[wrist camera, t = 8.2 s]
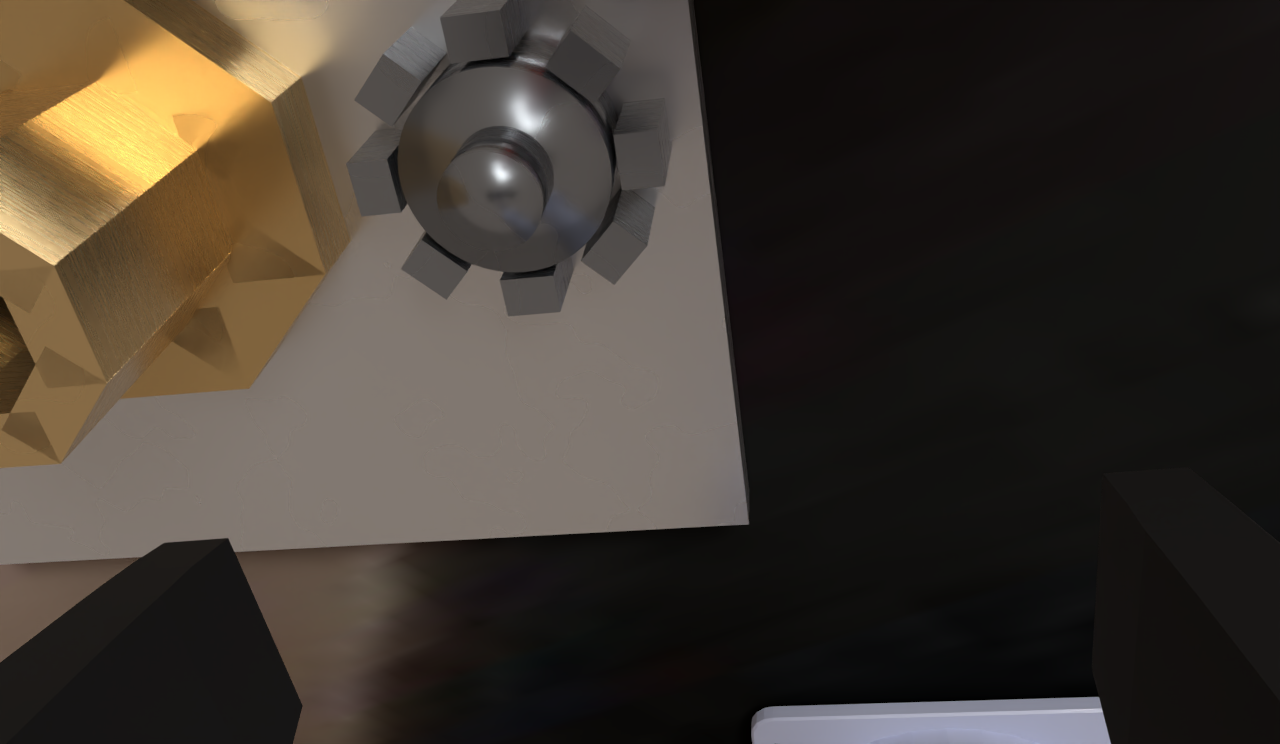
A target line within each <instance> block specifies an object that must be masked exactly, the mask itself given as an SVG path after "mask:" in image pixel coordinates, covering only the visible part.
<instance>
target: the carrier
mask: <svg viewBox="0 0 1280 744" xmlns="http://www.w3.org/2000/svg"><path fill="white" fill-rule="evenodd" d="M192 1H194V2H195V3H197V4H198V5H199V6H201V7H202V8H204V9H205V10H207V11H208V12H209V13H211V14H212V15H214V16H215V17H217V18H218V19H219V20H221V21H222V22H224V23H225V24H226V25H228V26H229V27H231V28H232V29H234V30H235V31H236V32H238V33H239V34H241V35H242V36H243V37H245V38H246V39H248V40H249V41H251V42H252V43H253V44H255V45H256V46H258V47H259V48H260V49H262V50H263V51H265V52H266V53H268V54H269V55H270V56H272V57H273V58H275V59H276V60H278V61H279V62H280V63H282V64H283V65H285V66H286V67H287V68H289V69H290V70H292V71H293V72H295V73H296V74H297V75H299V76H300V77H302V81H303V84H304V87H305V91H306V94H307V97H308V101H309V104H310V107H311V111H312V114H313V117H314V121H315V124H316V127H317V131H318V134H319V137H320V141H321V144H322V147H323V151H324V154H325V157H326V161H327V164H328V167H329V171H330V174H331V177H332V181H333V184H334V187H335V191H336V194H337V197H338V201H339V204H340V207H341V211H342V214H343V218H344V221H345V224H346V228H347V231H348V234H349V238H350V243H349V244H348V245H347V247H346V248H345V250H344V251H343V253H342V254H341V256H340V257H339V259H338V260H337V261H336V263H335V264H334V266H333V267H332V269H331V270H330V272H329V273H328V275H327V276H326V278H325V279H324V281H323V282H322V284H321V285H320V287H319V288H318V290H317V291H316V293H315V294H314V296H313V297H312V299H311V300H310V302H309V303H308V305H307V306H306V308H305V309H304V311H303V312H302V314H301V315H300V317H299V318H298V320H297V321H296V323H295V324H294V326H293V327H292V329H291V330H290V332H289V333H288V335H287V336H286V338H285V339H284V341H283V342H282V344H281V345H280V347H279V348H278V350H277V352H276V353H275V354H274V356H273V357H272V359H271V360H270V361H269V363H268V364H267V365H266V367H265V368H264V369H263V371H262V372H261V374H260V375H259V376H258V378H257V379H256V380H255V382H254V383H253V384H252V386H251V387H250V389H239V390H227V391H214V392H201V393H188V394H176V395H163V396H150V397H138V398H125V399H119V400H118V401H117V402H116V404H115V405H114V406H113V407H112V408H111V409H110V410H109V411H108V412H107V414H106V415H105V416H104V417H103V418H102V419H101V420H100V421H99V422H98V423H97V425H96V426H95V427H94V428H93V429H92V430H91V431H90V432H89V433H88V434H87V436H86V437H85V438H84V439H83V440H82V441H81V442H80V443H79V444H78V445H77V447H76V448H75V449H74V450H73V451H72V452H71V453H70V454H69V455H68V456H67V458H66V459H65V460H64V461H63V462H62V463H61V464H52V465H37V466H23V467H8V468H0V565H3V564H22V563H40V562H59V561H77V560H96V559H114V558H133V557H143V556H144V555H146V554H148V553H149V552H151V551H152V550H154V549H155V548H157V547H158V546H160V545H161V544H163V543H167V542H181V541H194V540H208V539H222V538H228V539H229V541H230V543H231V545H232V548H233V550H234V552H244V551H263V550H281V549H300V548H318V547H337V546H355V545H374V544H392V543H411V542H430V541H448V540H467V539H485V538H504V537H522V536H541V535H559V534H578V533H597V532H615V531H634V530H652V529H671V528H689V527H708V526H726V525H745V524H749V484H748V475H747V466H746V457H745V448H744V440H743V431H742V422H741V413H740V405H739V396H738V387H737V378H736V369H735V361H734V352H733V343H732V334H731V325H730V317H729V308H728V299H727V290H726V282H725V273H724V264H723V255H722V246H721V238H720V229H719V220H718V211H717V202H716V194H715V185H714V176H713V167H712V159H711V150H710V141H709V132H708V123H707V115H706V106H705V97H704V88H703V79H702V71H701V62H700V53H699V44H698V36H697V27H696V18H695V9H694V0H192Z"/></svg>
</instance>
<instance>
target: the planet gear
mask: <svg viewBox="0 0 1280 744" xmlns="http://www.w3.org/2000/svg"><path fill="white" fill-rule="evenodd" d="M349 243H350V238H349V234H348V231H347V228H346V224H345V221H344V218H343V214H342V211H341V207H340V204H339V201H338V197H337V194H336V191H335V187H334V184H333V181H332V177H331V174H330V171H329V167H328V164H327V161H326V157H325V154H324V151H323V147H322V144H321V141H320V137H319V134H318V131H317V127H316V124H315V121H314V117H313V114H312V111H311V107H310V104H309V101H308V97H307V94H306V91H305V87H304V84H303V81H302V77H300V76H299V75H297V74H296V73H295V72H293V71H292V70H290V69H289V68H287V67H286V66H285V65H283V64H282V63H280V62H279V61H278V60H276V59H275V58H273V57H272V56H270V55H269V54H268V53H266V52H265V51H263V50H262V49H260V48H259V47H258V46H256V45H255V44H253V43H252V42H251V41H249V40H248V39H246V38H245V37H243V36H242V35H241V34H239V33H238V32H236V31H235V30H234V29H232V28H231V27H229V26H228V25H226V24H225V23H224V22H222V21H221V20H219V19H218V18H217V17H215V16H214V15H212V14H211V13H209V12H208V11H207V10H205V9H204V8H202V7H201V6H199V5H198V4H197V3H195V2H194V1H192V0H0V468H8V467H23V466H37V465H52V464H61V463H62V462H63V461H64V460H65V459H66V458H67V456H68V455H69V454H70V453H71V452H72V451H73V450H74V449H75V448H76V447H77V445H78V444H79V443H80V442H81V441H82V440H83V439H84V438H85V437H86V436H87V434H88V433H89V432H90V431H91V430H92V429H93V428H94V427H95V426H96V425H97V423H98V422H99V421H100V420H101V419H102V418H103V417H104V416H105V415H106V414H107V412H108V411H109V410H110V409H111V408H112V407H113V406H114V405H115V404H116V402H117V401H118V400H119V399H125V398H138V397H150V396H163V395H176V394H188V393H201V392H214V391H227V390H239V389H250V387H251V386H252V384H253V383H254V382H255V380H256V379H257V378H258V376H259V375H260V374H261V372H262V371H263V369H264V368H265V367H266V365H267V364H268V363H269V361H270V360H271V359H272V357H273V356H274V354H275V353H276V352H277V350H278V348H279V347H280V345H281V344H282V342H283V341H284V339H285V338H286V336H287V335H288V333H289V332H290V330H291V329H292V327H293V326H294V324H295V323H296V321H297V320H298V318H299V317H300V315H301V314H302V312H303V311H304V309H305V308H306V306H307V305H308V303H309V302H310V300H311V299H312V297H313V296H314V294H315V293H316V291H317V290H318V288H319V287H320V285H321V284H322V282H323V281H324V279H325V278H326V276H327V275H328V273H329V272H330V270H331V269H332V267H333V266H334V264H335V263H336V261H337V260H338V259H339V257H340V256H341V254H342V253H343V251H344V250H345V248H346V247H347V245H348V244H349Z"/></svg>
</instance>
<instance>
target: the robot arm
mask: <svg viewBox="0 0 1280 744" xmlns="http://www.w3.org/2000/svg"><path fill="white" fill-rule="evenodd" d="M1092 671H1093V675H1094V679H1095V683H1096V687H1097V691H1098V695H1099V697H1076V698H1042V699H1008V700H974V701H940V702H906V703H872V704H838V705H804V706H773V707H767V708H763V709H761V710H759V711H758V712H756V713H755V715H754V716H753V717H752V723H751V737H752V744H1280V543H1279V542H1278V541H1277V540H1275V539H1274V538H1273V537H1272V536H1271V535H1269V534H1268V533H1267V532H1266V531H1265V530H1263V529H1262V528H1261V527H1260V526H1259V525H1257V524H1256V523H1255V522H1254V521H1253V520H1252V519H1250V518H1249V517H1248V516H1247V515H1246V514H1244V513H1243V512H1242V511H1241V510H1240V509H1238V508H1237V507H1236V506H1235V505H1234V504H1232V503H1231V502H1230V501H1229V500H1228V499H1226V498H1225V497H1224V496H1223V495H1222V494H1220V493H1219V492H1218V491H1217V490H1215V489H1214V488H1213V487H1212V486H1211V485H1209V484H1208V483H1207V482H1206V481H1205V480H1203V479H1202V478H1201V477H1200V476H1199V475H1197V474H1196V473H1195V472H1194V471H1192V470H1191V469H1190V468H1189V467H1183V468H1170V469H1156V470H1143V471H1129V472H1115V473H1103V479H1102V497H1101V515H1100V532H1099V550H1098V568H1097V586H1096V604H1095V621H1094V639H1093V657H1092ZM301 709H302V704H301V701H300V699H299V697H298V694H297V692H296V690H295V688H294V685H293V683H292V681H291V679H290V676H289V674H288V672H287V670H286V667H285V665H284V663H283V661H282V658H281V656H280V654H279V652H278V649H277V647H276V645H275V643H274V640H273V638H272V636H271V634H270V631H269V629H268V627H267V624H266V622H265V620H264V618H263V615H262V613H261V611H260V609H259V606H258V604H257V602H256V600H255V597H254V595H253V593H252V591H251V588H250V586H249V584H248V582H247V579H246V577H245V575H244V573H243V570H242V568H241V566H240V564H239V561H238V559H237V557H236V555H235V552H234V550H233V548H232V545H231V543H230V541H229V539H228V538H222V539H208V540H194V541H181V542H167V543H163V544H161V545H160V546H158V547H157V548H155V549H154V550H152V551H151V552H149V553H148V554H146V555H144V556H143V557H141V558H140V559H138V560H137V561H135V562H134V563H132V564H131V565H130V566H128V567H127V568H125V569H124V570H122V571H121V572H120V573H118V574H117V575H116V576H114V577H113V578H111V579H110V580H109V581H107V582H106V583H105V584H103V585H102V586H100V587H99V588H98V589H96V590H95V591H94V592H92V593H91V594H90V595H88V596H87V597H86V598H84V599H83V600H82V601H80V602H79V603H78V604H76V605H75V606H74V607H72V608H71V609H70V610H69V611H67V612H66V613H65V614H63V615H62V616H61V617H59V618H58V619H57V620H55V621H54V622H53V623H51V624H50V625H49V626H48V627H46V628H45V629H44V630H42V631H41V632H40V633H38V634H37V635H36V636H34V637H33V638H32V639H31V640H29V641H28V642H27V643H25V644H24V645H23V646H21V647H20V648H19V649H18V650H16V651H15V652H14V653H12V654H11V655H10V656H8V657H7V658H6V659H4V660H3V661H2V662H1V663H0V744H293V740H294V736H295V733H296V729H297V725H298V721H299V717H300V713H301Z"/></svg>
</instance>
